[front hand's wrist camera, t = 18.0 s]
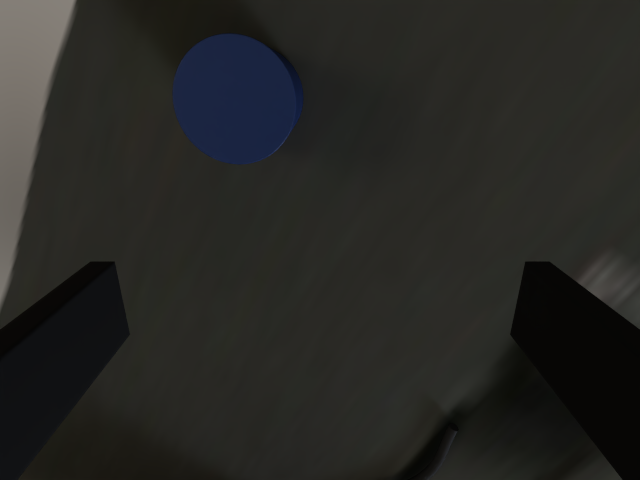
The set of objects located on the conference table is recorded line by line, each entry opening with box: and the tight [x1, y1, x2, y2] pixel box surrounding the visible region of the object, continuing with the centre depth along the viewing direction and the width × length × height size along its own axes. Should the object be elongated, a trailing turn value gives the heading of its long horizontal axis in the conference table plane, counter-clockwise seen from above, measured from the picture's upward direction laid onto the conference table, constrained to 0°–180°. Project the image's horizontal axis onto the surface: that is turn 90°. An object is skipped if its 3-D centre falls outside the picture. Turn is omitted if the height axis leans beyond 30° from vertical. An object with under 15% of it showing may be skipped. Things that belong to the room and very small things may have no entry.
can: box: [173, 33, 303, 164], centre depth 23 cm, size 6×6×7 cm
